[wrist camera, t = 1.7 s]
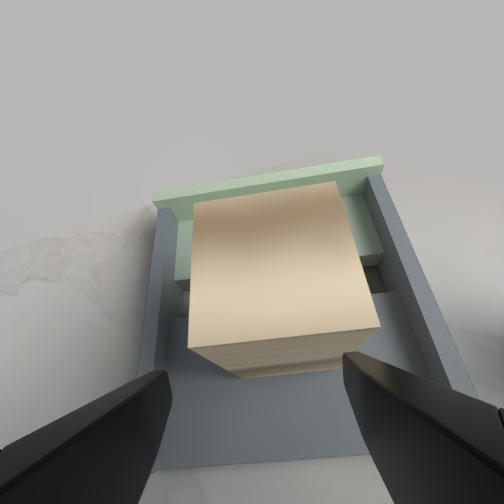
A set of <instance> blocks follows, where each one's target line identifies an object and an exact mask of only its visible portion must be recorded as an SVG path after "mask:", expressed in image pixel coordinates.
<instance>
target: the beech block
mask: <svg viewBox="0 0 504 504" xmlns="http://www.w3.org/2000/svg"><path fill="white" fill-rule="evenodd" d="M380 327H381V325H380V322H379V319H378V316H377V312H376V309H375V306H374V303H373V300H372V296H371V293H370V290H369V287H368V284H367V280H366V277H365V274H364V271H363V268H362V264H361V261H360V258H359V255H358V252H357V248H356V245H355V242H354V239H353V236H352V232H351V229H350V226H349V223H348V220H347V216H346V213H345V210H344V207H343V204H342V200H341V197H340V194H339V191H338V188H337V184H336V181H333V182H326V183H320V184H313V185H307V186H301V187H294V188H288V189H282V190H275V191H269V192H263V193H256V194H250V195H243V196H237V197H231V198H224V199H218V200H212V201H205V202H199V203H194V210H193V234H192V257H191V281H190V305H189V328H188V349H190V350H192V351H194V352H195V353H197V354H199V355H201V356H202V357H204V358H206V359H208V360H210V361H211V362H213V363H215V364H217V365H218V366H220V367H222V368H224V369H225V370H227V371H229V372H231V373H232V374H234V375H236V376H238V377H239V378H241V379H249V378H259V377H269V376H279V375H290V374H300V373H310V372H320V371H330V370H339V369H340V368H341V367H342V366H343V365H342V355H343V353H345V352H354V351H358V350H359V349H360V348H361V347H362V346H363V345H364V344H365V343H366V342H367V341H368V340H369V338H370V337H371V336H372V335H373V334H374V333H375V332H376V331H377V330H378V329H379V328H380Z"/></svg>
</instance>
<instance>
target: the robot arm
mask: <svg viewBox="0 0 504 504" xmlns="http://www.w3.org/2000/svg"><path fill="white" fill-rule="evenodd" d="M342 365H343V381H344V386H345V390H346V393H347V395H348V398H349V401H350V404H351V407H352V409H353V412H354V415H355V418H356V421H357V424H358V426H359V429H360V432H361V435H362V437H363V440H364V442H365V444H366V446H367V449H368V451H369V453H370V455H371V457H372V459H373V461H374V463H375V465H376V467H377V469H378V471H379V473H380V475H381V477H382V479H383V481H384V483H385V485H386V487H387V490H388V492H389V494H390V496H391V498H392V500H393V502H394V504H504V409H503V408H500V409H499V410H498V408H497V407H496V406H493V405H491V404H488V403H486V402H483V401H481V400H478V399H476V398H473V397H471V396H468V395H466V394H463V393H461V392H458V391H456V390H453V389H451V388H448V387H446V386H443V385H441V384H438V383H436V382H433V381H431V380H428V379H426V378H423V377H421V376H418V375H416V374H413V373H411V372H408V371H406V370H403V369H400V368H398V367H395V366H393V365H390V364H388V363H385V362H383V361H380V360H378V359H375V358H373V357H370V356H368V355H365V354H363V353H360V352H357V351H354V352H345V353H343V355H342ZM172 401H173V395H172V390H171V386H170V381H169V377H168V373H167V371H166V370H153V371H150V372H148V373H146V374H144V375H142V376H140V377H139V378H137V379H135V380H133V381H131V382H129V383H127V384H125V385H123V386H121V387H119V388H117V389H115V390H113V391H111V392H110V393H108V394H106V395H104V396H102V397H100V398H98V399H96V400H94V401H92V402H90V403H88V404H86V405H84V406H82V407H81V408H79V409H77V410H75V411H73V412H71V413H69V414H67V415H65V416H63V417H61V418H59V419H57V420H55V421H53V422H52V423H50V424H48V425H46V426H44V427H42V428H40V429H38V430H36V431H34V432H32V433H30V434H28V435H26V436H24V437H22V438H21V439H19V440H17V441H15V442H13V443H11V444H9V445H7V446H5V447H4V448H3V449H2V450H1V449H0V504H138V503H139V500H140V498H141V495H142V493H143V490H144V488H145V485H146V483H147V480H148V478H149V475H150V473H151V470H152V468H153V465H154V463H155V460H156V457H157V455H158V452H159V448H160V445H161V442H162V438H163V435H164V431H165V428H166V424H167V420H168V417H169V413H170V410H171V406H172Z"/></svg>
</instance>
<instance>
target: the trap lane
mask: <svg viewBox="0 0 504 504" xmlns="http://www.w3.org/2000/svg"><path fill="white" fill-rule="evenodd" d="M383 167H384V163H383V160H382V158H381V156H380V155H378V156H372V157H366V158H361V159H354V160H348V161H342V162H335V163H329V164H323V165H317V166H311V167H305V168H299V169H292V170H286V171H280V172H274V173H268V174H262V175H256V176H250V177H243V178H237V179H231V180H225V181H219V182H213V183H207V184H200V185H194V186H188V187H182V188H176V189H170V190H164V191H157V192H154V195H153V203H154V204H155V206H156V207H157V209H158V213H157V221H156V229H155V237H154V245H153V253H152V260H151V268H150V276H149V284H148V292H147V300H146V308H145V316H144V324H143V332H142V340H141V348H140V355H139V363H138V371H137V378H139V377H140V376H142V375H144V374H146V373H148V372H150V371H153V370H166V371H167V373H168V377H169V381H170V386H171V390H172V395H173V401H172V406H171V410H170V413H169V417H168V420H167V424H166V428H165V431H164V435H163V438H162V442H161V445H160V448H159V452H158V455H157V457H156V460H155V463H154V465H153V468H152V470H151V473H153V472H155V471H158V470H160V469H174V468H188V467H202V466H216V465H230V464H244V463H258V462H272V461H287V460H301V459H315V458H329V457H343V456H357V455H370V453H369V451H368V449H367V446H366V444H365V442H364V440H363V437H362V435H361V432H360V429H359V426H358V424H357V421H356V418H355V415H354V412H353V409H352V407H351V404H350V401H349V398H348V395H347V393H346V390H345V386H344V381H343V366H342V367H341V368H340V369H339V370H330V371H320V372H310V373H300V374H290V375H279V376H269V377H259V378H249V379H241V378H239V377H238V376H236V375H234V374H232V373H231V372H229V371H227V370H225V369H224V368H222V367H220V366H218V365H217V364H215V363H213V362H211V361H210V360H208V359H206V358H204V357H202V356H201V355H199V354H197V353H195V352H194V351H192V350H190V349H188V328H189V316H186V317H182V303H183V290H189V289H190V281H191V257H192V234H193V210H194V203H199V202H205V201H212V200H218V199H224V198H231V197H237V196H243V195H250V194H256V193H263V192H269V191H275V190H282V189H288V188H294V187H301V186H307V185H313V184H320V183H326V182H333V181H336V184H337V188H338V191H339V194H340V197H341V200H342V204H343V207H344V210H345V213H346V216H347V220H348V223H349V226H350V229H351V232H352V236H353V239H354V242H355V245H356V248H357V252H358V255H359V258H360V261H361V264H362V267H367V266H375V265H378V268H379V271H380V274H381V277H382V279H383V282H384V285H385V288H386V291H387V292H385V293H377V294H371V296H372V300H373V303H374V306H375V309H376V312H377V316H378V319H379V322H380V325H381V327H380V328H379V329H378V330H377V331H376V332H375V333H374V334H373V335H372V336H371V337H370V338H369V340H368V341H367V342H366V343H365V344H364V345H363V346H362V347H361V348H360V349H359V350H358V351H357V352H360V353H363V354H365V355H368V356H370V357H373V358H375V359H378V360H380V361H383V362H385V363H388V364H390V365H393V366H395V367H398V368H400V369H403V370H406V371H408V372H411V373H413V374H416V375H418V376H421V377H423V378H426V379H428V380H431V381H433V382H436V383H438V384H441V385H443V386H446V387H448V388H451V389H453V390H456V391H458V392H461V393H463V394H466V395H468V396H471V397H473V398H476V399H478V397H477V394H476V392H475V390H474V388H473V385H472V383H471V381H470V378H469V376H468V374H467V371H466V369H465V367H464V365H463V362H462V360H461V358H460V355H459V353H458V351H457V348H456V346H455V344H454V341H453V339H452V337H451V335H450V332H449V330H448V328H447V325H446V323H445V321H444V318H443V316H442V314H441V312H440V309H439V307H438V305H437V302H436V300H435V298H434V295H433V293H432V291H431V289H430V286H429V284H428V282H427V279H426V277H425V275H424V272H423V270H422V268H421V266H420V263H419V261H418V259H417V256H416V254H415V252H414V249H413V247H412V245H411V243H410V240H409V238H408V236H407V233H406V231H405V229H404V226H403V224H402V222H401V220H400V217H399V215H398V213H397V210H396V208H395V206H394V203H393V201H392V199H391V196H390V194H389V192H388V190H387V187H386V185H385V183H384V180H383V178H382V176H381V172H382V170H383ZM478 400H479V399H478Z"/></svg>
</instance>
